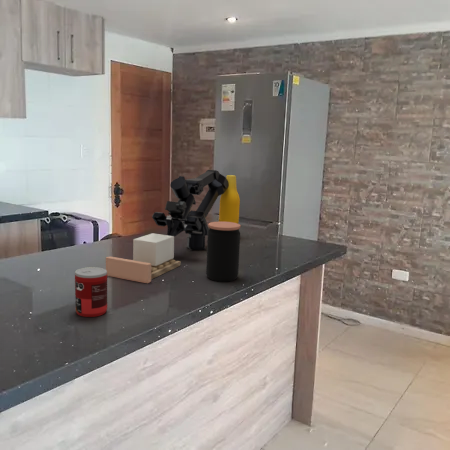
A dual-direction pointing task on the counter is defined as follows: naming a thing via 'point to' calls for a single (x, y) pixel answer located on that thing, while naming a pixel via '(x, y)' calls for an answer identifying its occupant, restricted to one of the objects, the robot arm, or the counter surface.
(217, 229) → the coffee jar
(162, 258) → the white box on pallet
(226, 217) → the beer bottle
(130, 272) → the brick stop
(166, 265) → the roller bed
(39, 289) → the counter surface
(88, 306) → the canned food
